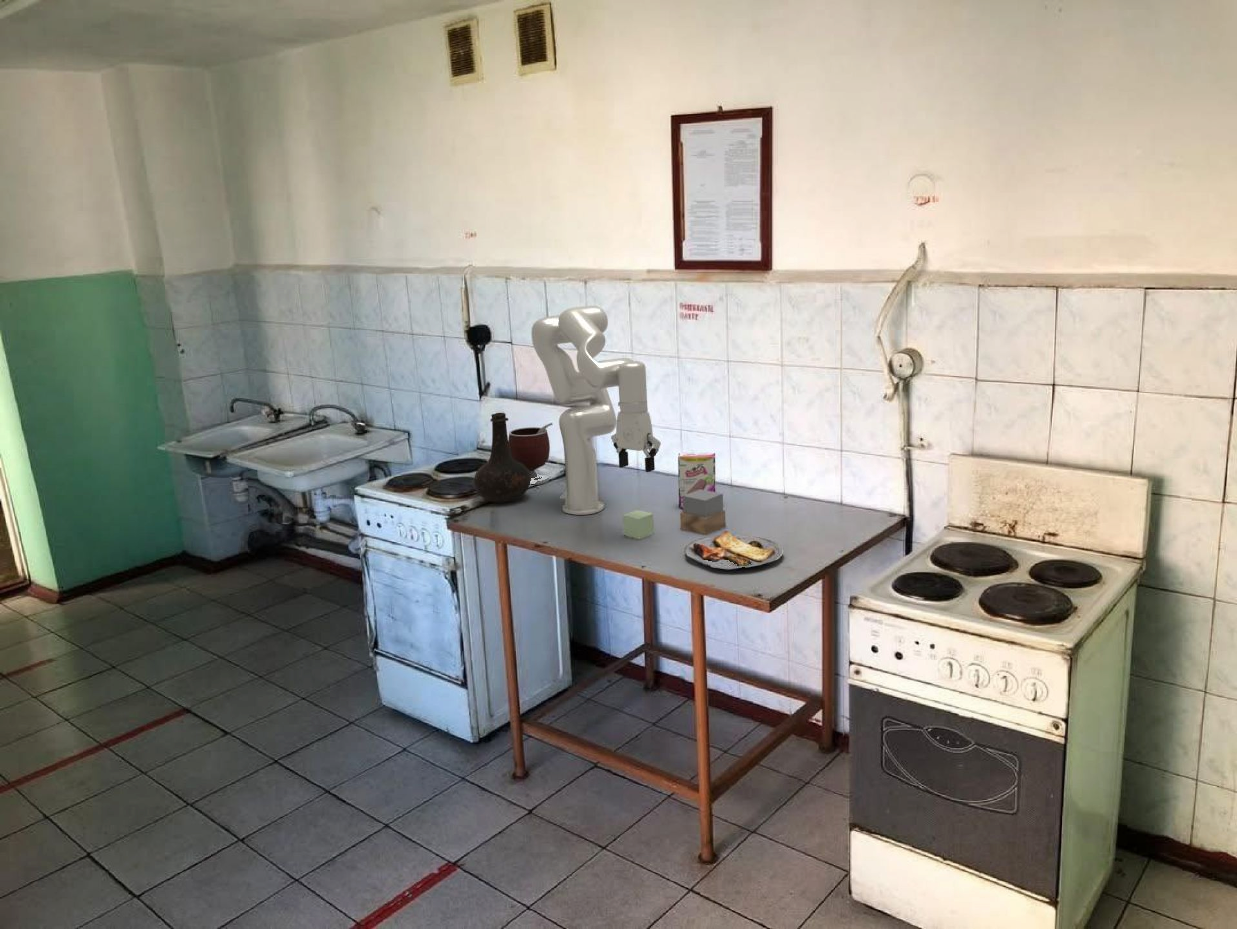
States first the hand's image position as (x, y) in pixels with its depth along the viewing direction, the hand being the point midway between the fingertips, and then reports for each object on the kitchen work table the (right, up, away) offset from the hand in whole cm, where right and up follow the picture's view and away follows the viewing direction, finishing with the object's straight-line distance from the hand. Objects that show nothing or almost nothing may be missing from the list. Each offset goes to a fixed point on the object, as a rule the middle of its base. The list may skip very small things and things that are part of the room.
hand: (636, 468), depth 275 cm
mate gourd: (-34, -4, +66) cm, 74 cm away
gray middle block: (+19, -12, +7) cm, 24 cm away
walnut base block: (+19, -17, +8) cm, 27 cm away
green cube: (+1, -19, +5) cm, 19 cm away
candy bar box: (+19, -12, +28) cm, 36 cm away
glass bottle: (-42, -10, +45) cm, 63 cm away
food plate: (+25, -23, -15) cm, 37 cm away
